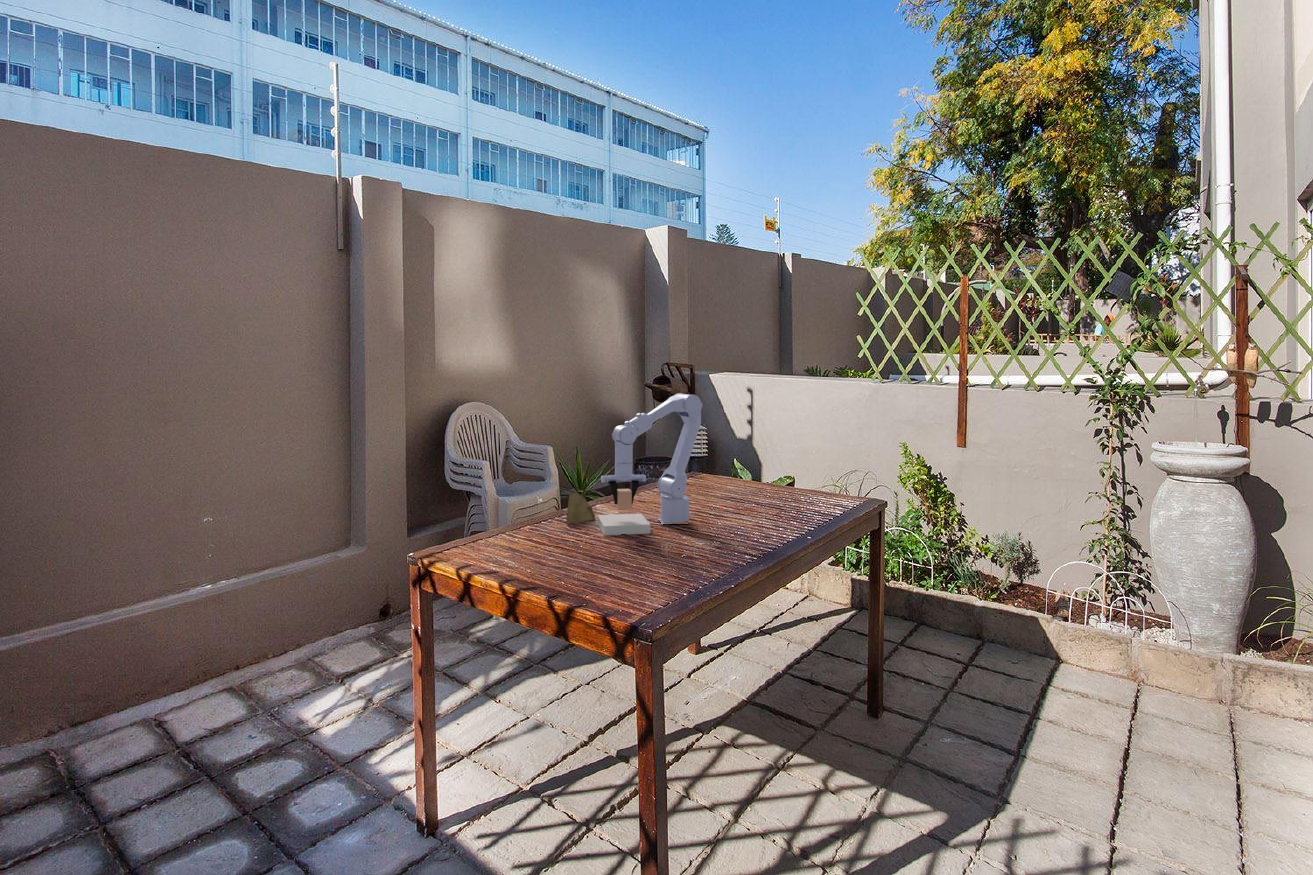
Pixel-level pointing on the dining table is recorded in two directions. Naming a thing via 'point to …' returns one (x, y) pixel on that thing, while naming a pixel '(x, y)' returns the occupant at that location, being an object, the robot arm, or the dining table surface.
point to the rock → (578, 509)
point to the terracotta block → (624, 499)
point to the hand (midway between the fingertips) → (623, 503)
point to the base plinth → (623, 524)
